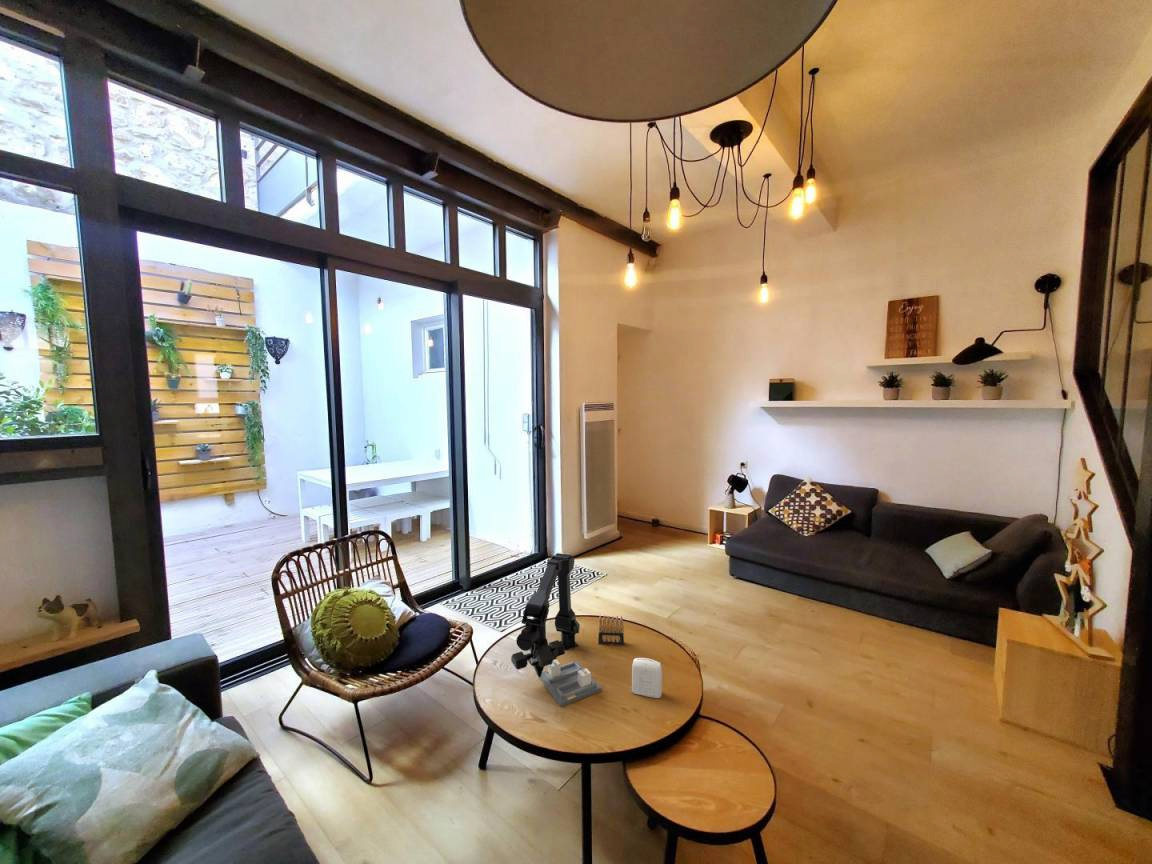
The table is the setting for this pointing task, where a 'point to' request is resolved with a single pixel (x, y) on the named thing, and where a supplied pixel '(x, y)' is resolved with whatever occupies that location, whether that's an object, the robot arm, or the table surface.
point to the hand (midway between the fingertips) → (539, 676)
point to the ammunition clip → (611, 631)
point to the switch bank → (568, 684)
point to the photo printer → (647, 677)
